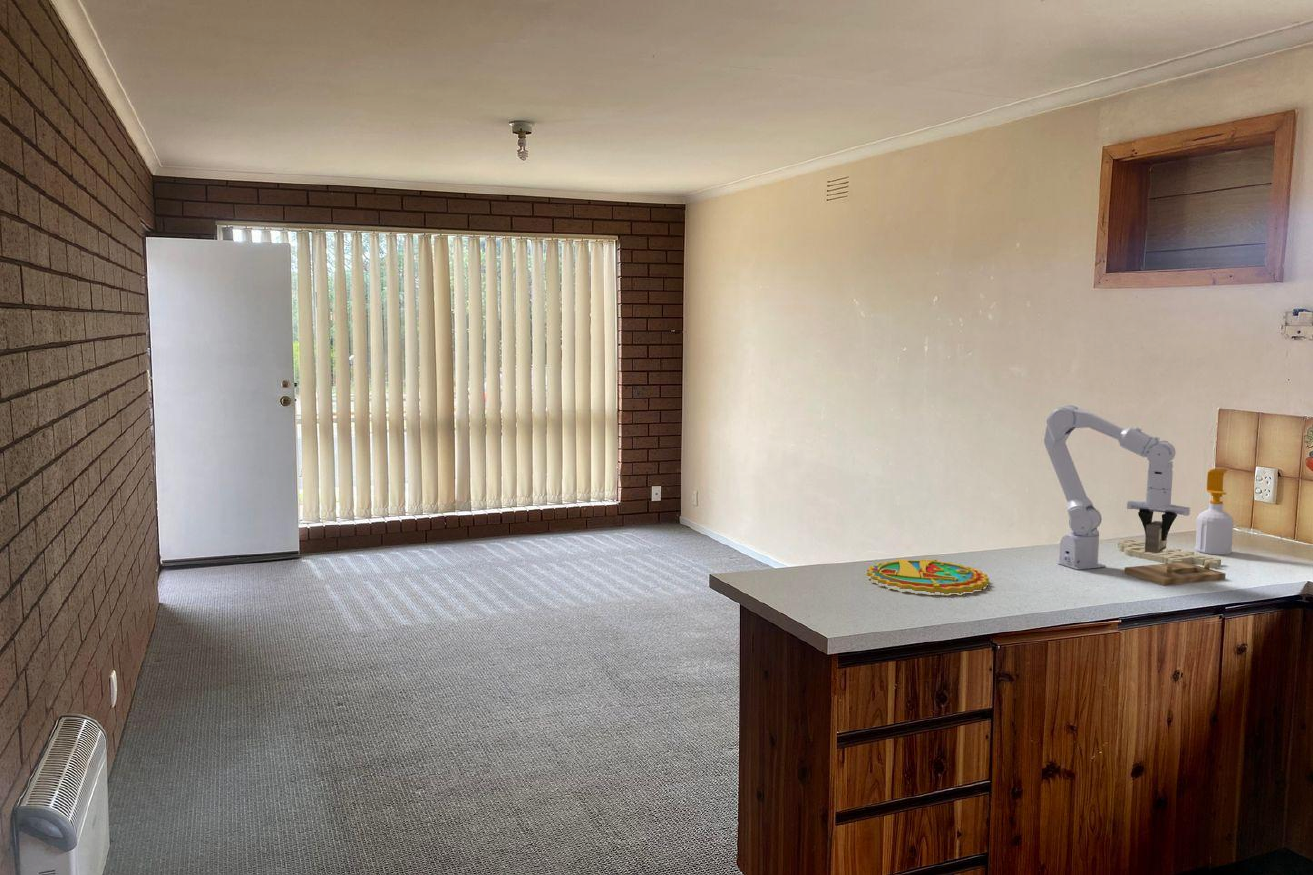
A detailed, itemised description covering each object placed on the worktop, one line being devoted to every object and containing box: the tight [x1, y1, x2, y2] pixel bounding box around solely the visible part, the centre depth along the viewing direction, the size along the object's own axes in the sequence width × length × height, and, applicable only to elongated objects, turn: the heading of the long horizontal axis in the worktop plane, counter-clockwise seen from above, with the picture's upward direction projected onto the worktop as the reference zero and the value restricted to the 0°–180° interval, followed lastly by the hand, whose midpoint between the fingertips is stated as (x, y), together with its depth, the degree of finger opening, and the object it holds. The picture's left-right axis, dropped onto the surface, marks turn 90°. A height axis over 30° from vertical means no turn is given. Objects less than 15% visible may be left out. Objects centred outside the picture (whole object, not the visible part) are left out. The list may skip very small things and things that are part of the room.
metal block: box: [1144, 520, 1168, 553], centre depth 249 cm, size 8×3×7 cm, turn 137°
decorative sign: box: [1117, 539, 1222, 570], centre depth 270 cm, size 31×2×15 cm
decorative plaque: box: [866, 558, 990, 594], centre depth 245 cm, size 30×3×30 cm
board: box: [1123, 562, 1226, 586], centre depth 249 cm, size 20×13×3 cm, turn 107°
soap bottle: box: [1194, 468, 1234, 556], centre depth 276 cm, size 9×9×25 cm
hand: (1156, 539), depth 249 cm, fingers closed on metal block, 3 cm apart
